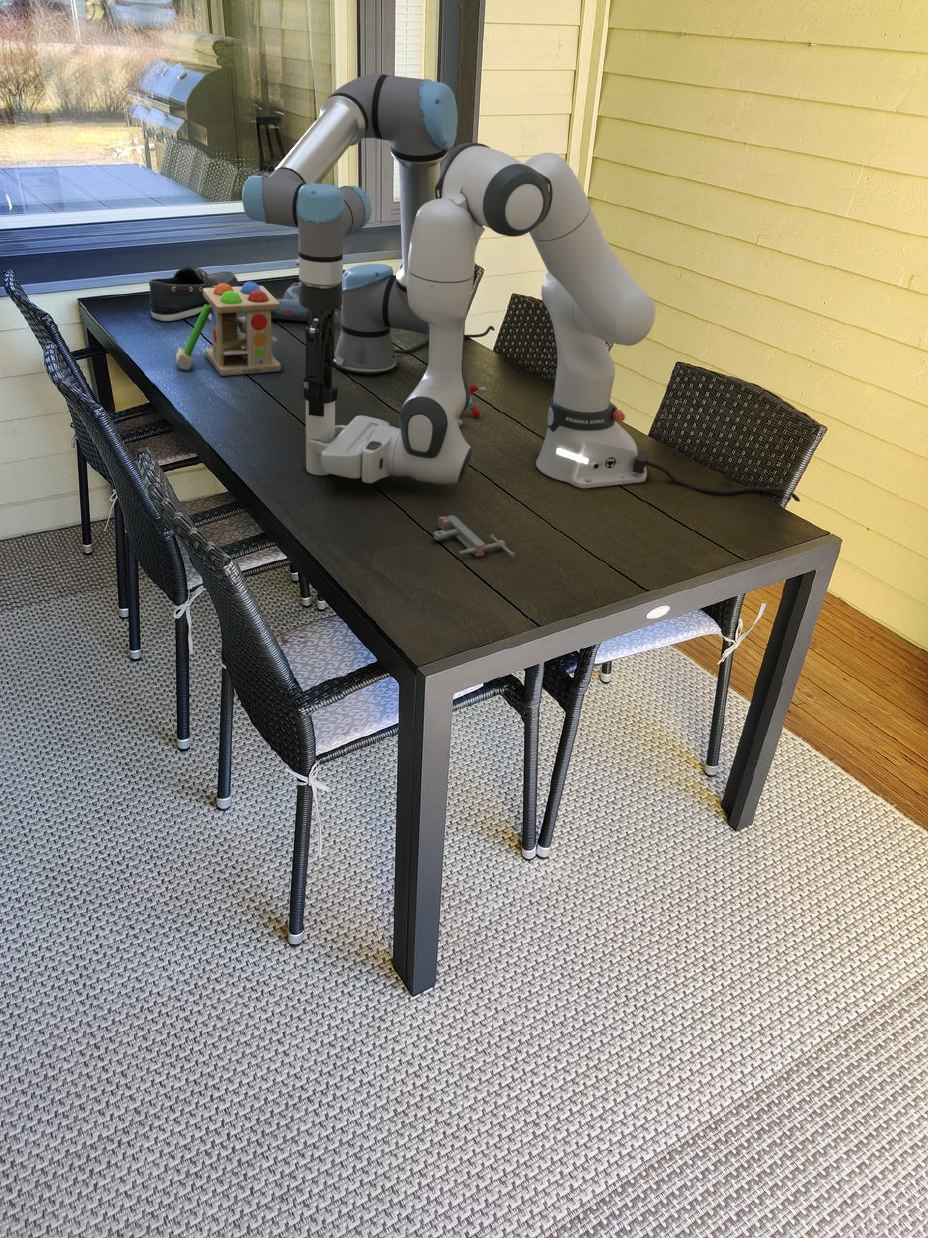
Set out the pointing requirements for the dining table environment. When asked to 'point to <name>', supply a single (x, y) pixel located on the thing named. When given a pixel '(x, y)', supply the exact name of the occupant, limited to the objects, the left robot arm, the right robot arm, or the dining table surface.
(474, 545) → the clamp
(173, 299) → the boat shoe
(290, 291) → the power drill
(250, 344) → the pounding bench toy
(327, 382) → the lid
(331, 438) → the jar
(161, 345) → the dining table surface
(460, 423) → the molecular model
